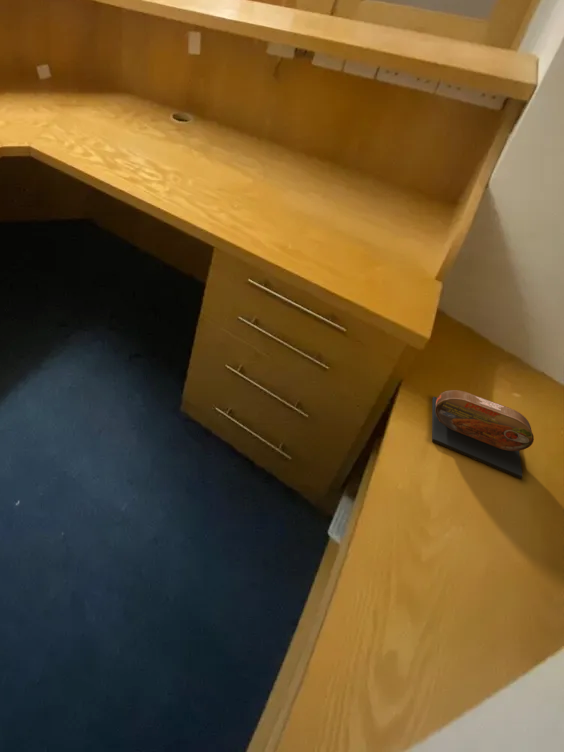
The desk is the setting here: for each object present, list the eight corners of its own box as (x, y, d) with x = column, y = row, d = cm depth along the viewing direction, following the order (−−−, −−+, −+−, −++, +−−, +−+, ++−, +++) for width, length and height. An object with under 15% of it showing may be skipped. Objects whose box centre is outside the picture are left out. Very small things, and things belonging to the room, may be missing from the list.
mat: (514, 430, 98) (516, 428, 97) (520, 478, 90) (523, 476, 90) (432, 398, 104) (433, 396, 103) (431, 441, 96) (433, 438, 96)
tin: (429, 421, 99) (443, 394, 94) (429, 407, 101) (443, 381, 97) (522, 458, 92) (542, 432, 88) (520, 443, 95) (539, 417, 91)
